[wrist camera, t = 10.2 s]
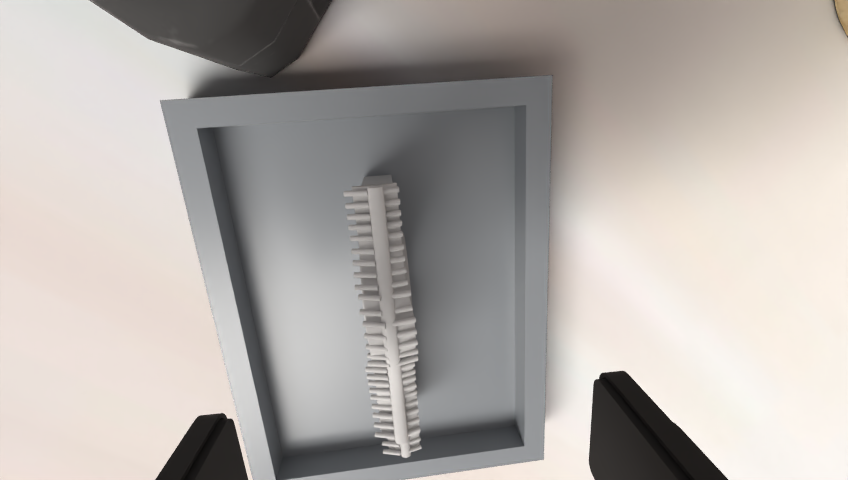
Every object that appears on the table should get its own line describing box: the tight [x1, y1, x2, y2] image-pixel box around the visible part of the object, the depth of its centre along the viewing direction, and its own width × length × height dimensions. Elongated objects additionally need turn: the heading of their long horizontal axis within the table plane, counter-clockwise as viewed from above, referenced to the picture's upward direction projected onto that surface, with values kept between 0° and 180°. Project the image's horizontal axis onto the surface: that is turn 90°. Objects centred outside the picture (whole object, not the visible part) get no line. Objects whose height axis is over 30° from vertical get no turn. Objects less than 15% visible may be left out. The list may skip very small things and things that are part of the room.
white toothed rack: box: [343, 175, 422, 458], centre depth 16 cm, size 12×2×6 cm, turn 4°
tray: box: [160, 75, 553, 480], centre depth 18 cm, size 14×18×2 cm
